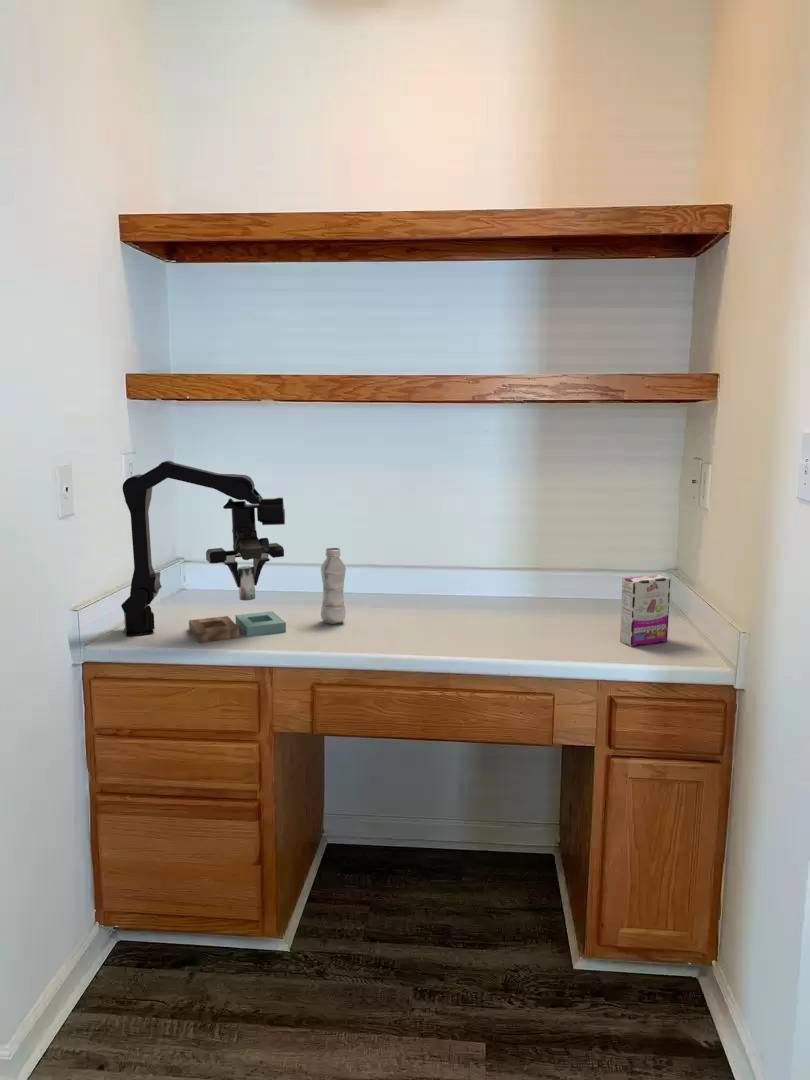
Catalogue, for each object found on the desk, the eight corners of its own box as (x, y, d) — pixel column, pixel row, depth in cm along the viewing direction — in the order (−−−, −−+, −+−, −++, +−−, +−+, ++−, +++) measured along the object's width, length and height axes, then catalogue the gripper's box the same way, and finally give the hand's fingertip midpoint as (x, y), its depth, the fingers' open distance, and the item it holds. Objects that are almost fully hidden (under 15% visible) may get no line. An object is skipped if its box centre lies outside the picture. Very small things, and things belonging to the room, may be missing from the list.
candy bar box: (654, 636, 199) (658, 573, 196) (667, 642, 195) (672, 577, 192) (617, 641, 195) (621, 577, 192) (630, 647, 191) (635, 581, 188)
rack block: (247, 636, 196) (247, 627, 196) (235, 624, 207) (235, 615, 207) (285, 632, 201) (285, 622, 200) (272, 620, 211) (272, 611, 211)
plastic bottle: (329, 618, 214) (328, 545, 210) (350, 621, 211) (350, 548, 207) (315, 624, 208) (315, 549, 205) (337, 627, 205) (337, 552, 201)
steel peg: (241, 601, 198) (239, 570, 197) (237, 597, 202) (236, 567, 200) (257, 599, 200) (255, 568, 198) (253, 595, 203) (251, 565, 202)
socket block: (198, 642, 191) (198, 632, 191) (189, 629, 202) (188, 620, 201) (239, 637, 196) (239, 628, 195) (228, 625, 206) (227, 616, 206)
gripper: (213, 533, 186) (216, 597, 189) (289, 527, 194) (291, 588, 197) (203, 526, 196) (207, 587, 199) (276, 521, 204) (279, 579, 207)
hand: (246, 586), depth 200 cm, fingers closed on steel peg, 4 cm apart
